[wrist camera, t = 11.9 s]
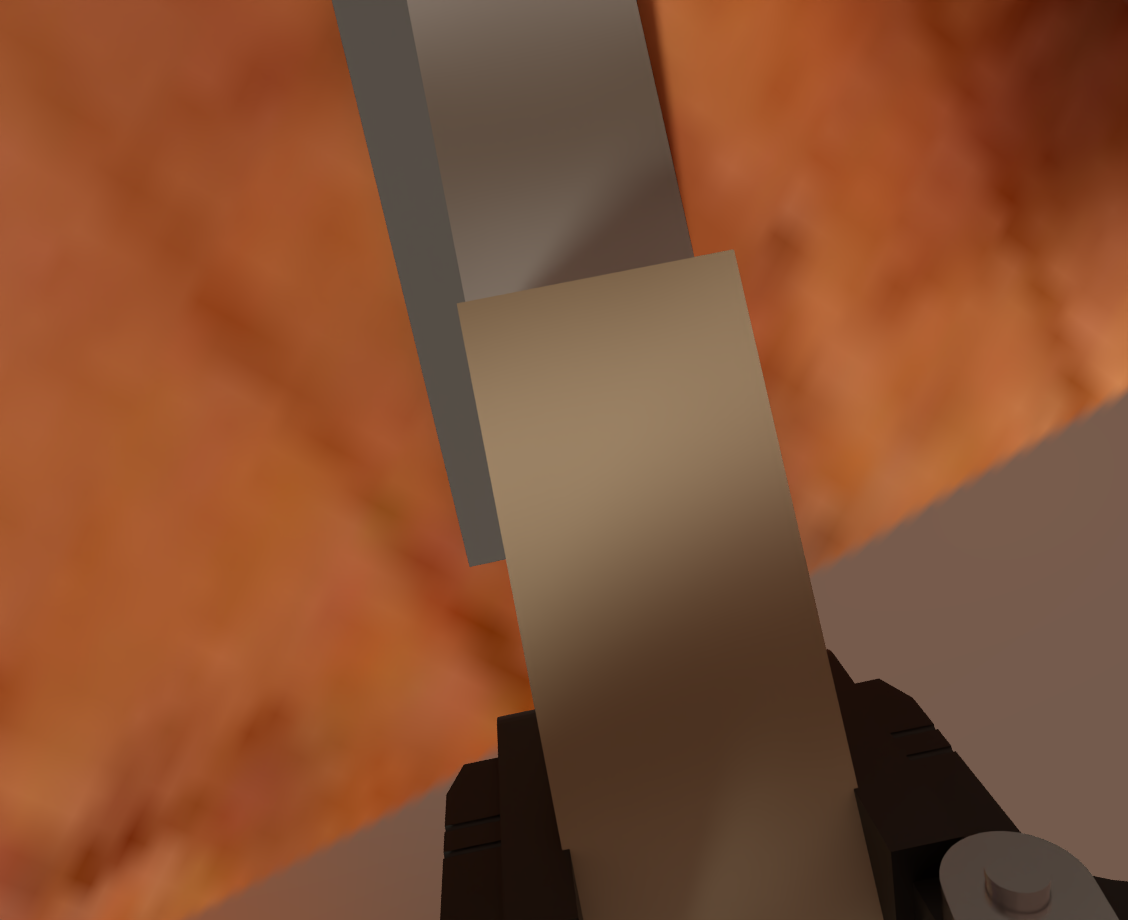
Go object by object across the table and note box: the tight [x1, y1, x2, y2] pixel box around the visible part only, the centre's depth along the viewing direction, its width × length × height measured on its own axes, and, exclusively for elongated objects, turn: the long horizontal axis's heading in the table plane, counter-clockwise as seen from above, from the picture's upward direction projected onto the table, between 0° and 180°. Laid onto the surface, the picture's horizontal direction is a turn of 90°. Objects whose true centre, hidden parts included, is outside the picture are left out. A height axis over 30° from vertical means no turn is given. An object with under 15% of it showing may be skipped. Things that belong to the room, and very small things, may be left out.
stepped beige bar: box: [407, 0, 884, 920], centre depth 12 cm, size 15×3×5 cm, turn 10°
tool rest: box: [332, 0, 637, 567], centre depth 27 cm, size 8×18×1 cm, turn 10°
